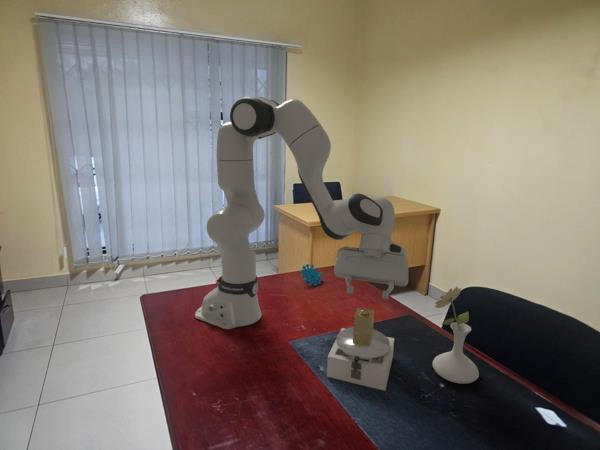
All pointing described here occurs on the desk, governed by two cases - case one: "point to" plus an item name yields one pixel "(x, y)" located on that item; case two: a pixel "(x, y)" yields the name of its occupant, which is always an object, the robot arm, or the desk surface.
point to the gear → (311, 275)
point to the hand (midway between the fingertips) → (366, 295)
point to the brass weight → (363, 326)
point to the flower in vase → (455, 347)
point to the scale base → (360, 368)
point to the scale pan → (362, 346)
